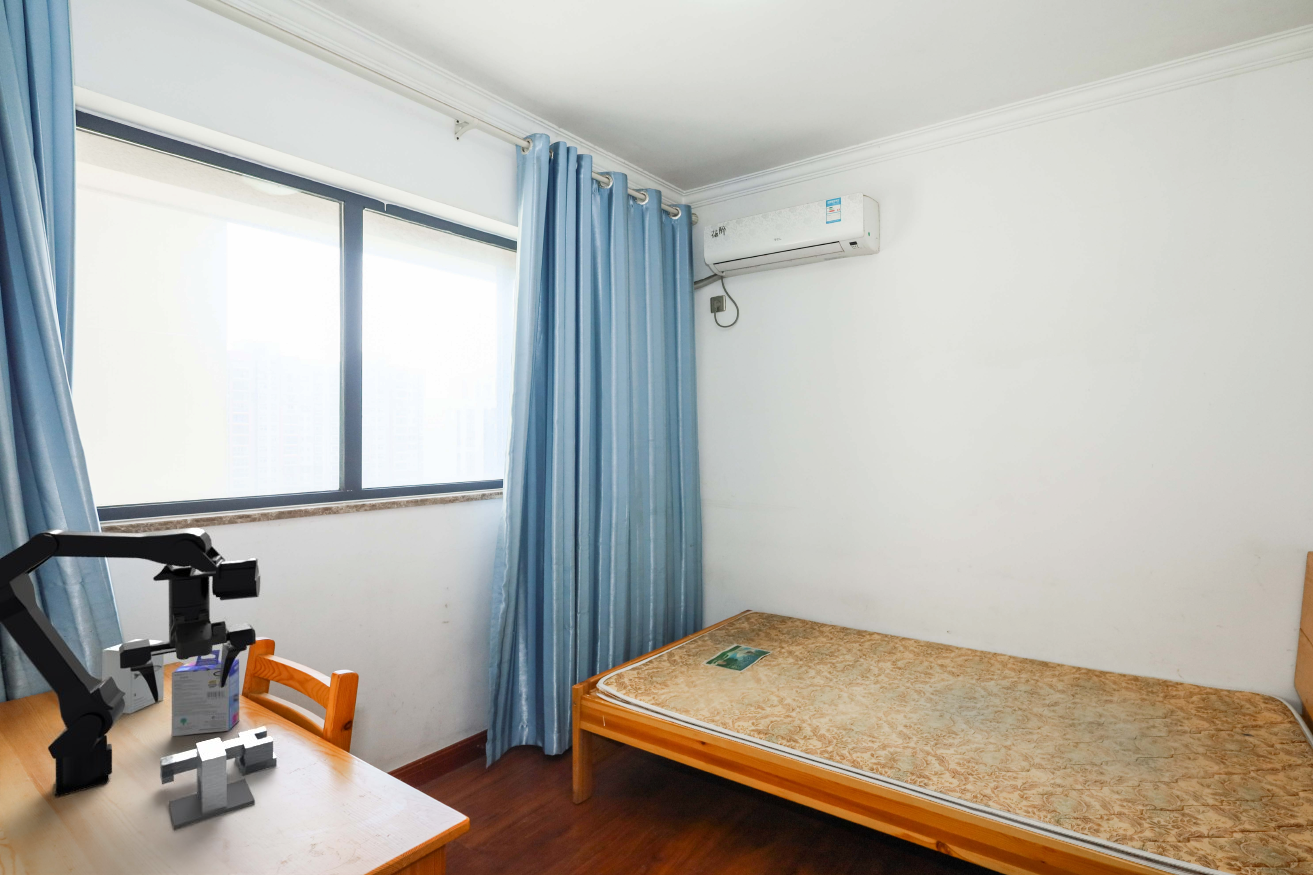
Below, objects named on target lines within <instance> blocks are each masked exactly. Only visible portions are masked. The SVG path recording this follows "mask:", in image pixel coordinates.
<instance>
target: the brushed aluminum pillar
mask: <svg viewBox="0 0 1313 875" xmlns="http://www.w3.org/2000/svg"><path fill="white" fill-rule="evenodd" d="M222 742H223V741H221V738H220V737H216V738H211V739H208V740H205V741H201V742H197V743H196V747H195V749H197V769H196V793H197V797H198V799H199V798H201V811H202V814H206V813H209V812H213V811H216V810H219V809H222V808H225V807H227V784H228V783H227V772H228V770H227V760H226V752H225V750H224V747H223V745H222Z"/></svg>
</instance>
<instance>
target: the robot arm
mask: <svg viewBox="0 0 1313 875" xmlns="http://www.w3.org/2000/svg"><path fill="white" fill-rule="evenodd" d="M53 557H60V558H61V557H62V558H65V557H66V558H102V559H103V558H107V559H108V558H111V559H112V558H113V559H114V558H115V559H117V558H119V559H120V558H121V559H140V560H146V561H150V562H153V563H157V564H161V565H164V566H163V568H162V569H161V570H160V571H159V572H158V573H157V574H156V575H155V576H154V577H152V579H153V581H154V582H159V581H168V641H164V643H158V644H152V645H150V642H149V640H150V639H149V638H146V639H143V640H139V641H133V642H129V641H127V643H126V642H123V643H121V644H122V645H121V646H120V647H119V664H120V668H121V669H125V668H130V671H132V672H135V671H139V672H140V673H141V675H142V676H143V677H144V679H145V680H146V682H147V684H148V686H149V689H150V691H151V693H152V696H153V698H154V700H155V703H158V702H159V701H158V689H157V684H156V678H155V673H154V666H153V662H152V656H156V655H162V654H164V655H167V654H173V653H176V654H175V656H176V659H178V660H180V661H182V660H183V661H185V660H188V659H190V658H194V657H198V656H201V657H205V656H209V655H212V654H211V653H212V650H213V646H218V645H221V644H222V648H221V649H222V650H221V659H220V661H221V669H220V687H221V688H223V687H224V685H225V683H226V680H227V677H228V675H229V672H230V669H231V667H232V664H233V662H234V660H235V659H237V657H238V655H239V654H240V653H241V652H245V651H246V650H247V649H248V646H254V645H255V644H257V638H256V635H257V634H256V630H255V628H254V627H253V626H252V625H251V624H250V623H249V622H243V623H237V624H230V625H227V624H226V621H224V620H221V621H214V622H212V621H211V616H210V615H211V614H210V612H211V607H210V601H211V600H210V599H211V598H210V596H211V595H210V592H211V591H210V590H212V592H211V593H212V595H213V596H215V598H219V600H220V601H231V600H239V599H241V600H242V599H251V598H252V599H253V598H259V597H260V591H261V573H260V570H259V565H258V563H259V562H258V558H256V557H255V558H252V557H251V558H247V559H241V560H226V558H224V557H223V556H222V555H221V554H220V553H219V552H218V550H216V548H214V546H213V544H212V538H211V536H210V535H209V534H208V532H206V531H205V530H204V529H202V528H198V527H188V528H178V529H171V530H170V529H169V530H164V531H158V532H152V533H151V532H149V533H136V532H135V533H134V532H133V533H132V532H106V531H105V532H103V531H75V530H74V531H72V530H71V531H70V530H69V531H68V530H61V529H57V528H52V529H48V530H45V531H42V532H40V533H37V534H35V535H34V536H31V538H30V540H27V541H26V542H25V543H23V544H21V545H20V546H19V547H17V548H15V549H13V550H11V552H9V553H7V554H6V555H3V556H2V557H0V624H1V626H2V627H3V628H4V630H6V632H7V633H8V634H9V636H10V637H11V638H12V640H13V641H14V642H15V643H16V645H17V646H18V647H19V649H20V650H21V651H22V652H23V654H24V655H25V656H26V657H27V659H28V660H29V661H30V663H31V664H32V665H33V667H34V668H35V669H36V670H37V672H38V673H39V675H40V676H41V677H42V678H43V680H44V681H45V682H46V683H47V684H48V686H49V687H50V688H51V690H52V692H54V694H55V695H56V697H57V702H58V706H59V708H58V709H59V713H60V714H59V715H60V718H61V720H62V723H63V724H64V727H65V728H64V730H63V731H62V732H61V733H60V734H59V735H58V736H57V737H56V738H55V739H54V740H53V741H52V743H50V745H48V747H47V749H48V752H49V754H50V755H51V756H50V757H51V758H52V759H54V760H55V780H54V782H55V783H54V791H53V792H54V795H53V796H54V797H60V796H64V795H68V794H71V793H75V792H79V791H83V790H86V789H90V788H94V787H98V786H101V785H105V784H107V783H109V782H110V781H109V778H110V777H109V775H112V773H113V748H112V743H108V736H107V734H108V732H109V731H110V730H111V729H112V727H113V726H114V725H115V723H116V722H117V721H118V720H119V719H120V717H121V716H122V715H123V714H124V713H123V710H124V707H125V701H124V699H123V696H124V695H125V694H126V693H125V692H123V691H121V690H120V689H119V688H118V687H117V685H116V683H115V681H114V679H113V678H112V677H111V676H109V677H108V678H106V679H105V680H104V681H102V679H99V678H96V677H94V676H93V675H91V674H90V673H89V672H88V670H87V669H86V668H85V666H84V665H83V663H82V662H81V661H80V660H79V658H78V657H77V656H76V655H75V653H74V652H73V651H72V650H71V648H70V646H69V645H68V644H67V642H66V641H65V640H64V638H63V637H62V636H61V635H60V634H59V631H58V630H57V629H56V628H55V627H54V625H53V624H52V622H50V620H49V619H48V618H47V616H46V615H45V614H44V612H43V611H42V609H41V608H40V607H39V605H38V603H37V599H36V598H37V597H36V592H35V586H34V583H33V581H32V579H31V577H30V574H32V572H34V571H35V570H37V569H38V568H40V567H42V566H43V565H44V564H45V563H47V562H48V561H49V560H50V559H51V558H53ZM210 577H211V578H212V582H211V589H210Z"/></svg>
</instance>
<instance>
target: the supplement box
mask: <svg viewBox="0 0 1313 875" xmlns="http://www.w3.org/2000/svg"><path fill="white" fill-rule="evenodd" d="M139 640H144V639H143V638H142V639H140V638H135V639H132V640H129V641H127V642H133V641H139ZM127 642H125V643H127ZM149 642H150V645H152V644H158V643H164V642H165V641H164V640H157V639H156V640H155V639H149ZM122 644H123V643H120V644H117V645H114V646H111V647H107V648H105V649H102V650H101V651H102V653H101V654H102V655H101V657H102V660H101V667H102V668H101V671H102V672H101V673H102V674H101V675H102V676H101V681H104V680H105V679H106V678H108V677H109V676H111V677H112V678H113V679H114V681H115V683H116V685H117V687H118V688H119V689H120V690H121V691H123V692H125V693H126V694H125V695H124V696H123V699H124V701H125V707H124V710H123V713H122V714H129V715H130V714H134V712H137V711H139V710H142V709H143V708H146V707H148V706H150V705H153V704H155V703H156V702H155V700H154V698H153V696H152V693H151V691H150V689H149V686H148V684H147V682H146V680H145V679H144V677H143V676H142V675H141V673H140V672H139V671H135V672H132V671H130V668H125V669H121V668H120V664H119V647H120V646H121V645H122ZM164 655H165V654H162V655H156V656H152V662H153V666H154V673H155V678H156V684H157V689H158V702H161V701H163V700H164V697H165V696H164V695H165V694H164V690H165V688H164V686H165V685H164V666H165V665H164V664H165V663H164V657H165V656H164Z"/></svg>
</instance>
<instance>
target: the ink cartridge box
mask: <svg viewBox="0 0 1313 875" xmlns="http://www.w3.org/2000/svg"><path fill="white" fill-rule="evenodd" d="M220 652H221V650H220V649H212V653H211V654H210V655H213V656H215V657H210V658H202V656H197V658H196V661H195V662H190V663H188V662H187V663H183V664H181V666H179V667H177V668H176V669H175V670H174V671H172V673H171V735H170V736H171V737H178V736H189V735H199V734H208V733H219V732H228V731H229V732H230V730H231V729H232V728H233V727H234V726H235V725H236V724H237V723H238V722H239V721H240V659H239V658H235V660H234V662H233V664H232V667H231V669H230V672H229V675H228V677H227V680H226V683H225V685H224V687H223V688H221V687H220V669H221V660H220V659H219V657H220Z"/></svg>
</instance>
